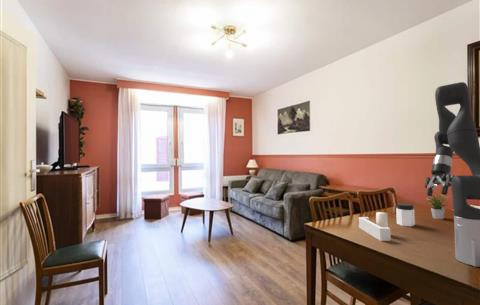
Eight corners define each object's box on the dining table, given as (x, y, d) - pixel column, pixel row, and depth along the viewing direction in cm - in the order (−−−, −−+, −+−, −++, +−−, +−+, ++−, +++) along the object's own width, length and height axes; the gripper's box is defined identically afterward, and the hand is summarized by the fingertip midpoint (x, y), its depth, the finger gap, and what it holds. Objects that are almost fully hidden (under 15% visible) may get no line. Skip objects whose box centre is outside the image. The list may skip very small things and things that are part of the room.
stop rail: (390, 240, 118) (390, 228, 118) (380, 240, 118) (380, 228, 118) (367, 227, 140) (367, 216, 140) (358, 227, 140) (358, 217, 140)
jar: (410, 227, 138) (409, 206, 138) (394, 224, 145) (393, 204, 145) (416, 224, 143) (416, 204, 143) (401, 221, 150) (400, 202, 150)
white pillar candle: (390, 235, 125) (389, 214, 125) (380, 235, 125) (379, 214, 126) (384, 232, 131) (383, 211, 131) (374, 232, 131) (374, 212, 131)
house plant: (450, 216, 159) (449, 191, 159) (458, 221, 146) (457, 194, 146) (423, 214, 165) (422, 190, 165) (429, 219, 152) (428, 193, 152)
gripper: (423, 165, 131) (417, 193, 127) (447, 159, 117) (441, 190, 113) (437, 171, 131) (431, 199, 127) (461, 165, 117) (456, 197, 113)
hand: (436, 195), depth 120 cm, fingers open, 8 cm apart
